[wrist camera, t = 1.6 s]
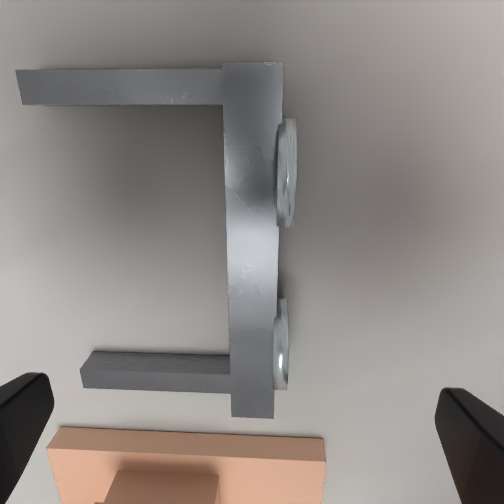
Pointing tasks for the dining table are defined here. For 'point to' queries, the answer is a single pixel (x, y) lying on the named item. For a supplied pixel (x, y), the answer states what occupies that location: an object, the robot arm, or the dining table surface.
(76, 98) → the glasses frame
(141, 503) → the display stand
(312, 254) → the dining table surface
